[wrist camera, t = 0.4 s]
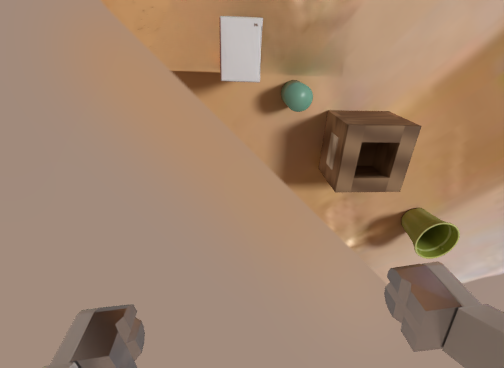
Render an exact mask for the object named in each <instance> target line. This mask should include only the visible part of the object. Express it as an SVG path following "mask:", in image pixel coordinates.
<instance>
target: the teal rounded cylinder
mask: <svg viewBox="0 0 504 368" xmlns="http://www.w3.org/2000/svg"><path fill="white" fill-rule="evenodd" d="M281 97H282V100H283V101H284V102H285V103H286V105H287V106H288V107H289V108H290V109H291V110H293V111H296V112H300V111H304V110H306V109H307V108H308V107H309V106H310V104H311V102H312V99H313V94H312V91H311V89H310V88H309V87H308V86H306V85H305V84H303V83H301V82H299V81H297V80H291V81H288V82H287V83H286V84H285V85H284V86H283V88H282V90H281Z"/></svg>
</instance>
